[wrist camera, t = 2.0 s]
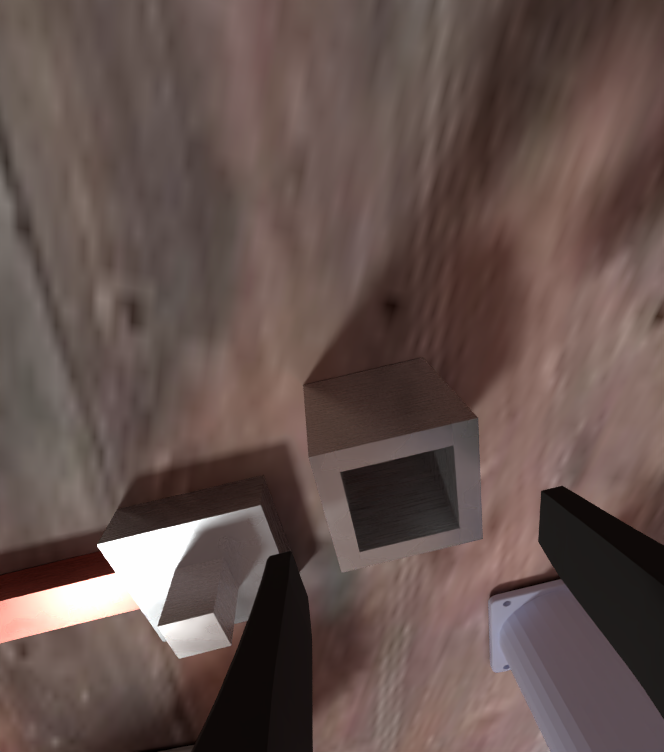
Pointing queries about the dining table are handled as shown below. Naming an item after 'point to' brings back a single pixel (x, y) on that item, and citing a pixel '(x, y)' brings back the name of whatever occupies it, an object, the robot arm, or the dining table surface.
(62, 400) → the dining table surface
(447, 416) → the socket
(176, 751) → the skincare box
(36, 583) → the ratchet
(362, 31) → the dining table surface
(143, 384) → the dining table surface
